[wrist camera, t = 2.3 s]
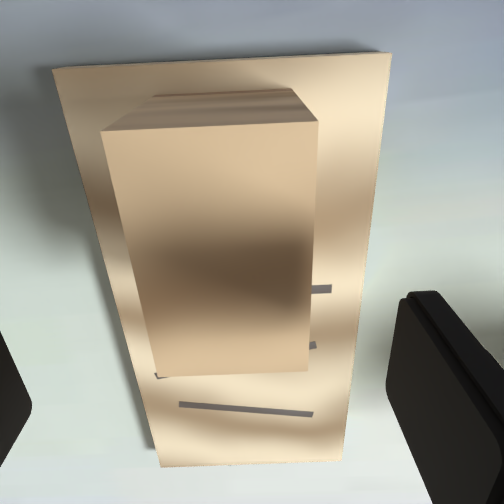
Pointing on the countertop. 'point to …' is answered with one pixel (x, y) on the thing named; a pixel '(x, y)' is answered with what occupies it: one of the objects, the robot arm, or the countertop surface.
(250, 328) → the block
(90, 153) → the board
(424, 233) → the countertop surface
